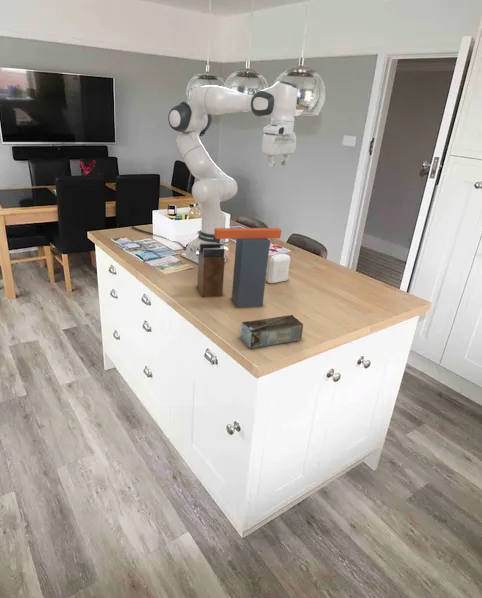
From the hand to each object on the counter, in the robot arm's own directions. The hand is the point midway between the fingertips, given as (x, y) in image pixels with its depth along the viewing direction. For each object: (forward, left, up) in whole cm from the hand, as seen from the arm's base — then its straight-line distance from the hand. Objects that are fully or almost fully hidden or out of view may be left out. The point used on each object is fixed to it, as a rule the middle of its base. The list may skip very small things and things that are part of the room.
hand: (277, 166), depth 166 cm
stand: (+9, -28, -48) cm, 56 cm away
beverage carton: (+31, -46, -48) cm, 73 cm away
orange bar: (+8, -30, -22) cm, 38 cm away
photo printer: (+6, 0, -48) cm, 48 cm away
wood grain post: (-7, -30, -48) cm, 57 cm away
